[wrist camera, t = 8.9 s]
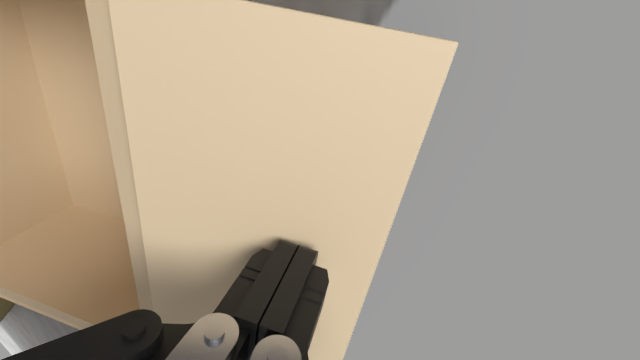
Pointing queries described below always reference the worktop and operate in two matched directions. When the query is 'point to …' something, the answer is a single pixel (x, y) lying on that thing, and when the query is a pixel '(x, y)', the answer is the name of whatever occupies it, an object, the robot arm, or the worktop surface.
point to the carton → (66, 167)
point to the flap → (269, 144)
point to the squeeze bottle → (5, 307)
